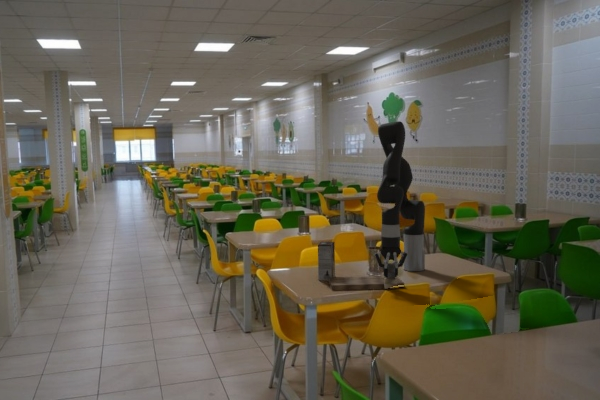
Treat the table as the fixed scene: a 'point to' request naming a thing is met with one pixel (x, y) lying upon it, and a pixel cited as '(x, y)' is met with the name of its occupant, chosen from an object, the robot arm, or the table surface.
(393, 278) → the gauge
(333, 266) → the coffee box
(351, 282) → the board
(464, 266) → the table surface
